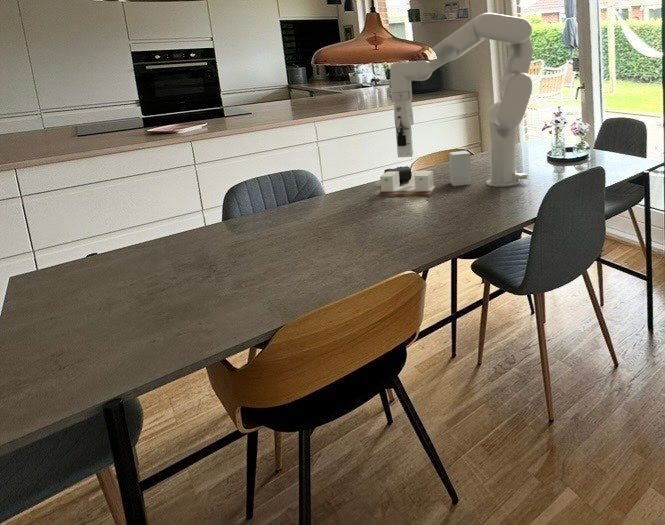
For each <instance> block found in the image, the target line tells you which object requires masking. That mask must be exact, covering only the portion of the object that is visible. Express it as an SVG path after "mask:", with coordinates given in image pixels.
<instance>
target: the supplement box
mask: <svg viewBox="0 0 665 525" xmlns="http://www.w3.org/2000/svg"><path fill="white" fill-rule="evenodd" d="M448 160H449V164H448V165H449V169H448V170H449V183H450V184H451V186H453V187H456V186H458V187H459V186H468V185H471V184H472V182H471V181H472V174H471V170H472V169H471V168H472V167H471V166H472V165H471V153H470V152H469V151H467V150H460V151H453V152H449V153H448Z"/></svg>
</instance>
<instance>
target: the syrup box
mask: <svg viewBox="0 0 665 525" xmlns="http://www.w3.org/2000/svg"><path fill="white" fill-rule="evenodd" d="M396 125H397V124H396ZM400 127H403V126H400ZM402 131H403V129H402ZM412 133H413V132H412V126H411V125H410V119H409V127H408V128H406V127H405V135H406V146H398V141H397V129H396V128H395V136H396V138H395V139H396V150H397V151H396V152H397V157H398V158H411V157H413V155H414V149H413V136H412Z"/></svg>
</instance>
